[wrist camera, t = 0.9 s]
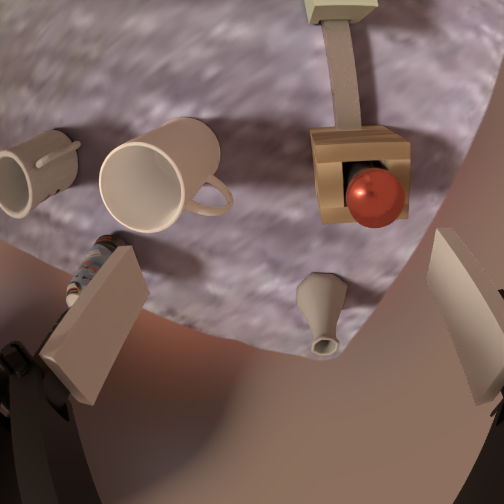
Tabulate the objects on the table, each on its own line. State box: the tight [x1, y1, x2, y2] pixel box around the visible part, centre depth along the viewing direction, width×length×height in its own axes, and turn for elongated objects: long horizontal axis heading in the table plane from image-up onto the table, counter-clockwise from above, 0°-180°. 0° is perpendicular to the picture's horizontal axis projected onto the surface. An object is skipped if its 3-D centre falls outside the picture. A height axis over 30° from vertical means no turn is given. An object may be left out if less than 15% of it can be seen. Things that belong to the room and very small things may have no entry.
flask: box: [296, 273, 348, 356], centre depth 37 cm, size 7×7×10 cm
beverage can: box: [66, 235, 128, 308], centre depth 37 cm, size 6×7×12 cm
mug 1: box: [0, 130, 81, 218], centre depth 31 cm, size 12×9×10 cm
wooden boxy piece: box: [309, 125, 410, 224], centre depth 28 cm, size 7×8×9 cm
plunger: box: [343, 160, 405, 228], centre depth 24 cm, size 4×4×7 cm
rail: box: [320, 19, 362, 130], centre depth 23 cm, size 19×5×4 cm, turn 9°
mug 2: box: [99, 117, 233, 233], centre depth 29 cm, size 12×8×12 cm
